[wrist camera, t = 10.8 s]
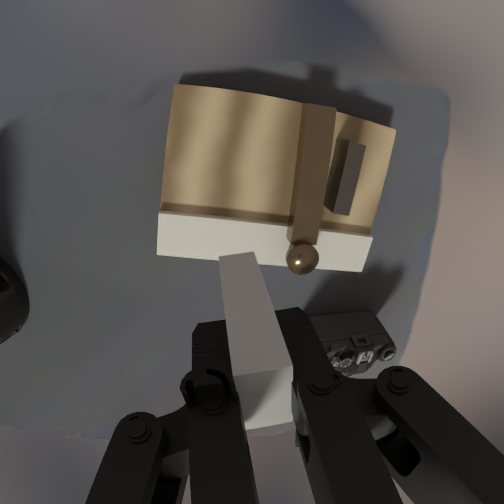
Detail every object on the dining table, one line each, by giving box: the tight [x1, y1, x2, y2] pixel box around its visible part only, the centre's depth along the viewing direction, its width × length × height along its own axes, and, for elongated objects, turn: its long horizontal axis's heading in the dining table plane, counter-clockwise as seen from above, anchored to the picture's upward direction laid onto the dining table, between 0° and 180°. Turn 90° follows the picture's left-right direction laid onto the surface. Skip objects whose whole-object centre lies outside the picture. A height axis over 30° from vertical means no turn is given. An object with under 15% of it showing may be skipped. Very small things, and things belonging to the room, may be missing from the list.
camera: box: [309, 311, 396, 378], centre depth 45 cm, size 14×11×10 cm
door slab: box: [160, 84, 396, 235], centre depth 34 cm, size 26×14×3 cm, turn 80°
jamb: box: [157, 210, 373, 272], centre depth 37 cm, size 26×5×6 cm, turn 80°
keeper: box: [324, 138, 366, 216], centre depth 32 cm, size 2×8×4 cm, turn 170°
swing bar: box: [285, 103, 337, 275], centre depth 32 cm, size 18×4×3 cm, turn 175°
